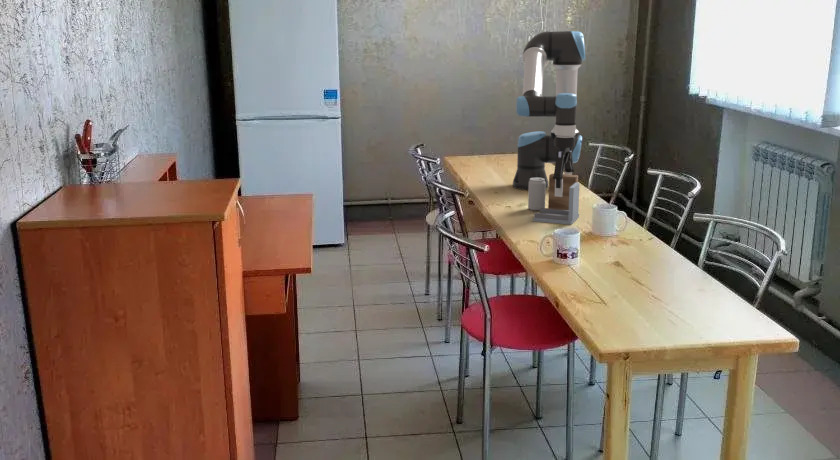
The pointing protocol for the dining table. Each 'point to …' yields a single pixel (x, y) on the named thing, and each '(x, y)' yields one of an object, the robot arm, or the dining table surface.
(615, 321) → the dining table surface
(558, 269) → the dining table surface
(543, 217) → the door track
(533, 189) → the beverage can
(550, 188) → the door panel
